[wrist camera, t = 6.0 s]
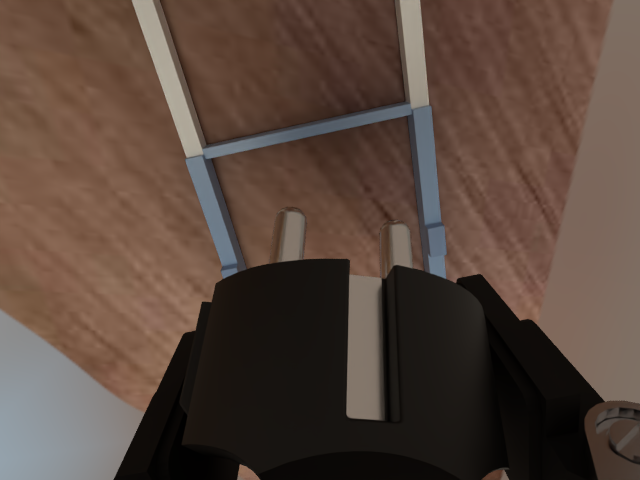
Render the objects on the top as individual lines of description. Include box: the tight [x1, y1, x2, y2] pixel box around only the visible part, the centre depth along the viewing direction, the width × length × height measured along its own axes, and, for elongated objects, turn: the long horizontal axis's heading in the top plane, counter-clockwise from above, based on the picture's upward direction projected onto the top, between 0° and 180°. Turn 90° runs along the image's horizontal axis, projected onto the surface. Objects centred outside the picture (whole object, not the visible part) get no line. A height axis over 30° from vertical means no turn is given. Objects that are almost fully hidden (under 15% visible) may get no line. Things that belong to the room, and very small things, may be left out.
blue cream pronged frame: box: [132, 0, 447, 279], centre depth 23 cm, size 31×14×2 cm, turn 12°
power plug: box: [179, 207, 510, 480], centre depth 11 cm, size 6×8×12 cm
